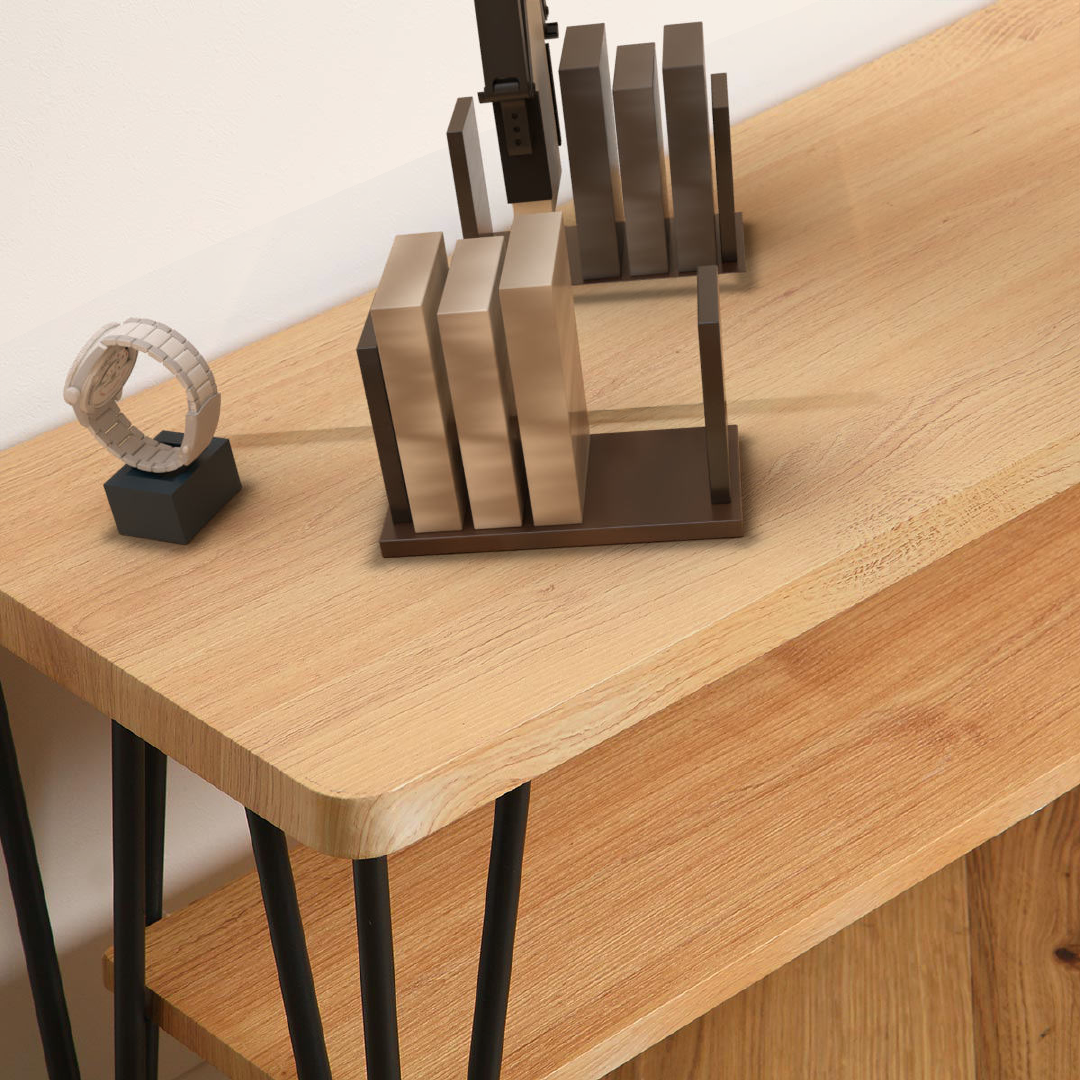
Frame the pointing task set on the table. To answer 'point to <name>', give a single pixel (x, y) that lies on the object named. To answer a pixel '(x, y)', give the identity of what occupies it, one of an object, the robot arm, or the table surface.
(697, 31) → the grey rack
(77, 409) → the watch
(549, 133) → the beige book
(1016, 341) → the table surface
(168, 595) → the table surface
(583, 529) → the brown rack
